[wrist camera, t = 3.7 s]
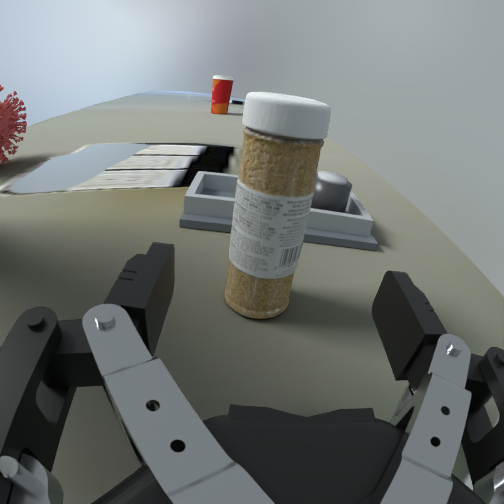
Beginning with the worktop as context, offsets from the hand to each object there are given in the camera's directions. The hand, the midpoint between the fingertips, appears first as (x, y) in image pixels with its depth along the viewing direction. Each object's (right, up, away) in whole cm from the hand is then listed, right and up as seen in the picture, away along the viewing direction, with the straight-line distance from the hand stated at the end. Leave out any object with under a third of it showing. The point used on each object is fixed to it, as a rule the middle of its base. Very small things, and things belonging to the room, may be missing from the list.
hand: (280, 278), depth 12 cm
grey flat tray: (+2, +5, +24) cm, 24 cm away
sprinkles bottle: (-1, -2, +11) cm, 11 cm away
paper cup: (-13, +50, +96) cm, 109 cm away
